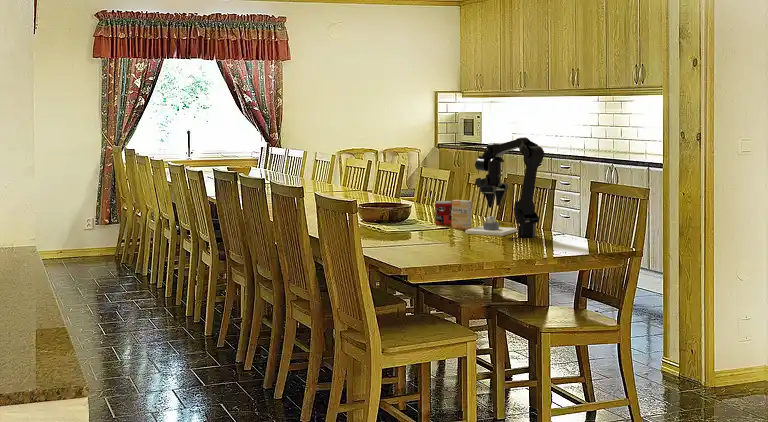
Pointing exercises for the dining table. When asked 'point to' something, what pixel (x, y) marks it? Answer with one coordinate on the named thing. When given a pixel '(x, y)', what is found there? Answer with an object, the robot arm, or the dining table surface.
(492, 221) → the steel pin
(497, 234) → the base plate
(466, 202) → the supplement box
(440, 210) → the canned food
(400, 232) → the dining table surface
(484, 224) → the gunmetal ring
